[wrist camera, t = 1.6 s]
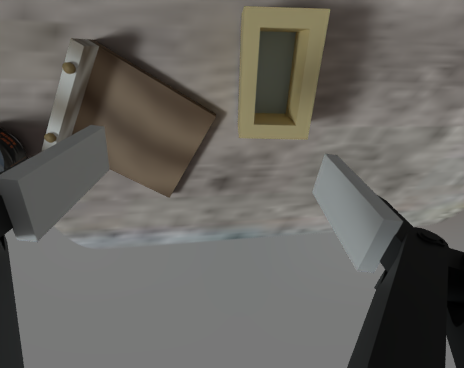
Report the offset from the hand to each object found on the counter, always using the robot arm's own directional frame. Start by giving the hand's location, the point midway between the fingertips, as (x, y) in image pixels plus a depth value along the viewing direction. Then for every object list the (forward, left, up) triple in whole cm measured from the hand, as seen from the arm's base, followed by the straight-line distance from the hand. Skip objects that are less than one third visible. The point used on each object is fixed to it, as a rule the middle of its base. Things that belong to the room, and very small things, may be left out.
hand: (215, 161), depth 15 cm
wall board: (+8, -8, -16) cm, 20 cm away
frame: (-6, +3, -16) cm, 18 cm away
